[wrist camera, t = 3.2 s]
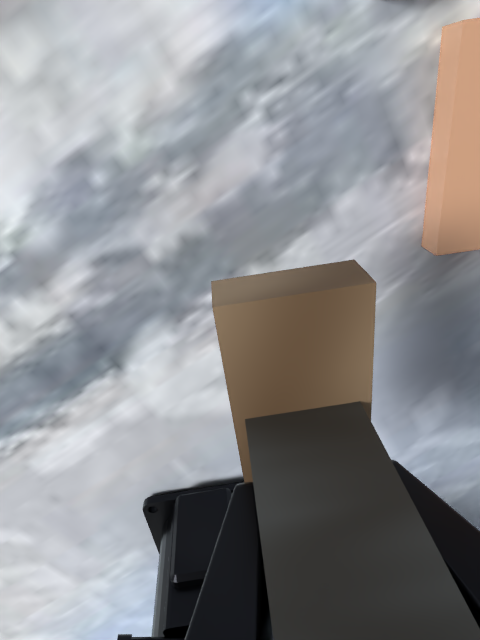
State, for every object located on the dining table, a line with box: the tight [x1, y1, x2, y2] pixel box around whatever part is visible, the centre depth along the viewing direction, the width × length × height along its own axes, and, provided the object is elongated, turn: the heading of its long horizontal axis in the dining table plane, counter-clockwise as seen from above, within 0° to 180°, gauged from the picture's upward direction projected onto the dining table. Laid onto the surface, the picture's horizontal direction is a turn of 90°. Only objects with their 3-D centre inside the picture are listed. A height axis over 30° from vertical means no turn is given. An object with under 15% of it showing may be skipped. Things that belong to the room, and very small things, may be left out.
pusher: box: [211, 260, 480, 640], centre depth 8 cm, size 3×8×6 cm, turn 7°
